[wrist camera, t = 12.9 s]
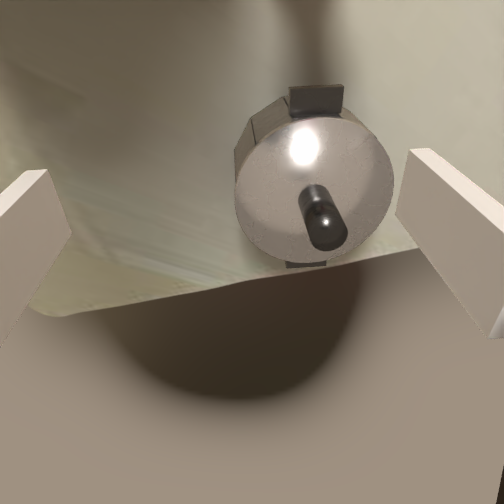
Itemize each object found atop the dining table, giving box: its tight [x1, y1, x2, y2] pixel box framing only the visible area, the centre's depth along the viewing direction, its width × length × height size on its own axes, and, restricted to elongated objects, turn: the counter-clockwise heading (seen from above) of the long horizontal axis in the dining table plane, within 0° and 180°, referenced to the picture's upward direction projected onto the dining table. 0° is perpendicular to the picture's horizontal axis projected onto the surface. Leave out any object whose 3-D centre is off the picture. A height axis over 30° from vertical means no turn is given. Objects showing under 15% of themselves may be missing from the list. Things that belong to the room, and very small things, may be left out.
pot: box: [234, 84, 377, 268], centre depth 43 cm, size 21×16×9 cm
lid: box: [235, 115, 394, 263], centre depth 37 cm, size 17×17×10 cm
